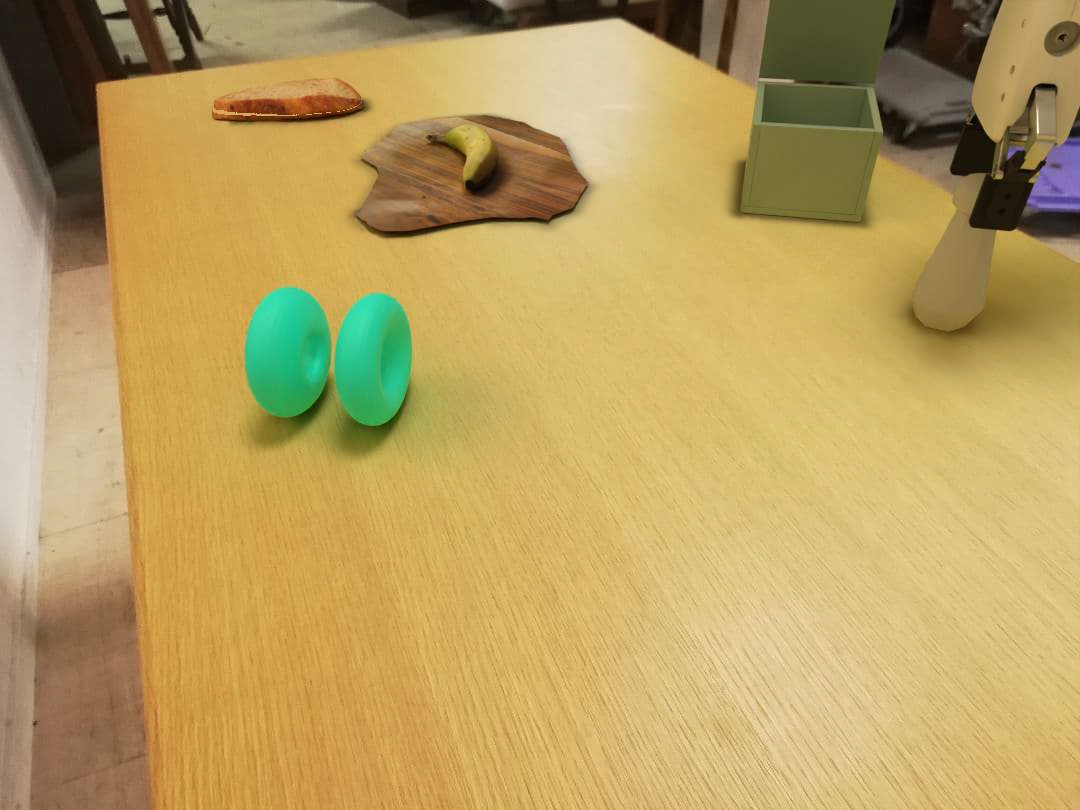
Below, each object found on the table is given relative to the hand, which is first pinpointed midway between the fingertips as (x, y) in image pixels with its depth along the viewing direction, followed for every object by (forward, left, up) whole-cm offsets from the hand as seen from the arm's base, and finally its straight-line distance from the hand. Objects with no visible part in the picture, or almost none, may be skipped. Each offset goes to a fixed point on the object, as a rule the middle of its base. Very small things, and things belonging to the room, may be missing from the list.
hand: (979, 199), depth 62 cm
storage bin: (+3, -27, -11) cm, 29 cm away
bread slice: (+66, -65, -12) cm, 93 cm away
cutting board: (+41, -40, -12) cm, 58 cm away
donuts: (+52, +5, -12) cm, 53 cm away
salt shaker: (0, 0, -12) cm, 12 cm away
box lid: (+1, -32, +6) cm, 33 cm away
